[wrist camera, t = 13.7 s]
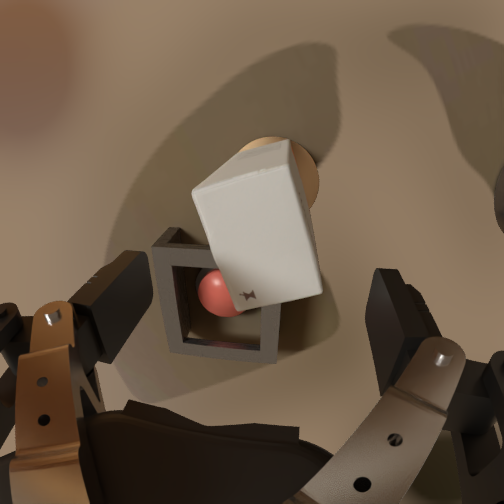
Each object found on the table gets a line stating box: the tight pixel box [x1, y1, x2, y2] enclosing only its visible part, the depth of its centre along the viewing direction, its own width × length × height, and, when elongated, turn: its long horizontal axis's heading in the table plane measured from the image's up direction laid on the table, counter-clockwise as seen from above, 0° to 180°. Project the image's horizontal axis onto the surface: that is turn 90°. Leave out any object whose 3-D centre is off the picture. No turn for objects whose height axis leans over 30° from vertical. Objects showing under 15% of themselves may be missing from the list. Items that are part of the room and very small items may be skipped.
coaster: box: [238, 136, 319, 209], centre depth 24 cm, size 7×7×1 cm
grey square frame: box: [152, 227, 281, 364], centre depth 27 cm, size 10×11×4 cm
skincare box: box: [192, 139, 323, 311], centre depth 18 cm, size 6×4×12 cm
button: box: [195, 268, 246, 317], centre depth 28 cm, size 6×6×1 cm
